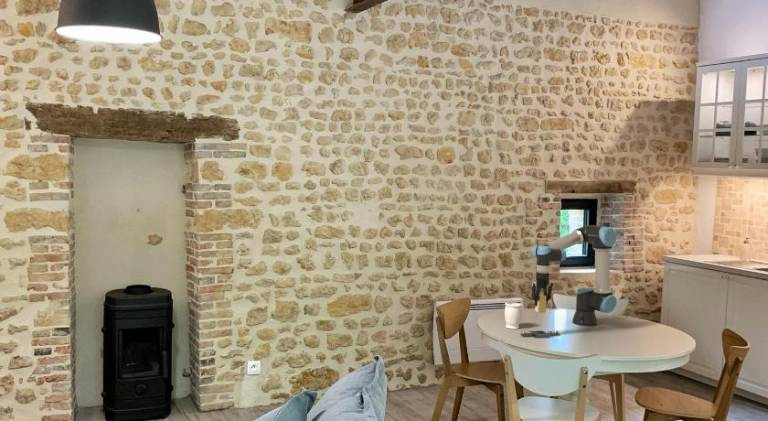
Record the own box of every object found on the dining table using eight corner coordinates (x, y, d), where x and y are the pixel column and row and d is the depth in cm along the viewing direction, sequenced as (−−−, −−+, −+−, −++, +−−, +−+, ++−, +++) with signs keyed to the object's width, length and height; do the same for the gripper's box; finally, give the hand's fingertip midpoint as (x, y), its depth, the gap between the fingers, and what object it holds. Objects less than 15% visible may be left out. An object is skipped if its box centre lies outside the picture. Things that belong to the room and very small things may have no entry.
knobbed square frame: (554, 333, 404) (554, 329, 404) (562, 337, 395) (562, 333, 395) (518, 334, 397) (518, 330, 397) (525, 338, 389) (525, 334, 388)
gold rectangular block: (541, 311, 398) (542, 294, 397) (545, 312, 394) (546, 295, 393) (535, 311, 397) (536, 294, 396) (539, 312, 393) (540, 295, 392)
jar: (520, 330, 408) (522, 306, 407) (503, 328, 410) (504, 304, 409) (520, 326, 419) (522, 302, 417) (504, 324, 421) (505, 301, 420)
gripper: (552, 271, 400) (550, 309, 401) (526, 271, 395) (524, 310, 397) (559, 273, 392) (556, 312, 394) (532, 273, 388) (530, 313, 389)
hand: (540, 311), depth 395 cm, fingers closed on gold rectangular block, 4 cm apart
